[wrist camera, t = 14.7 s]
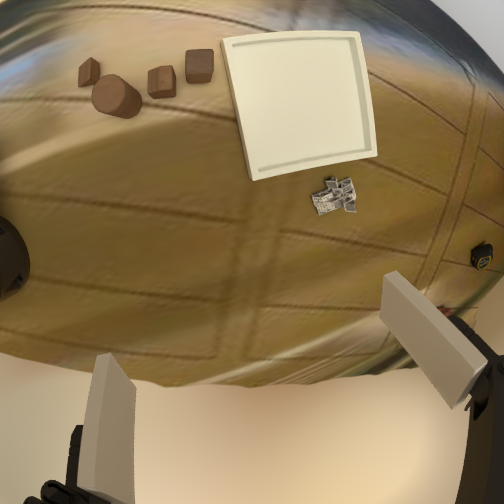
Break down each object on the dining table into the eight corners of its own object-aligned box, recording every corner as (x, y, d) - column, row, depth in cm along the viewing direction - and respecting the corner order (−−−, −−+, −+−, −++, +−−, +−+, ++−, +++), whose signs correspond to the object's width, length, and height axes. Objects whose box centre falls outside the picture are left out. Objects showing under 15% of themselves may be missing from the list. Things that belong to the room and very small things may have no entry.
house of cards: (347, 144, 42) (374, 152, 36) (360, 192, 47) (386, 207, 40) (298, 165, 42) (319, 176, 36) (315, 213, 47) (336, 232, 40)
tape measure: (488, 239, 59) (495, 247, 56) (485, 259, 62) (491, 267, 59) (470, 246, 60) (477, 254, 57) (468, 266, 64) (474, 275, 61)
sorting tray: (248, 176, 41) (252, 180, 39) (220, 43, 32) (222, 38, 29) (366, 152, 43) (377, 156, 41) (349, 35, 34) (359, 31, 31)
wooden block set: (210, 52, 32) (215, 27, 23) (210, 111, 36) (215, 101, 26) (83, 69, 29) (53, 53, 20) (83, 126, 32) (50, 125, 23)
